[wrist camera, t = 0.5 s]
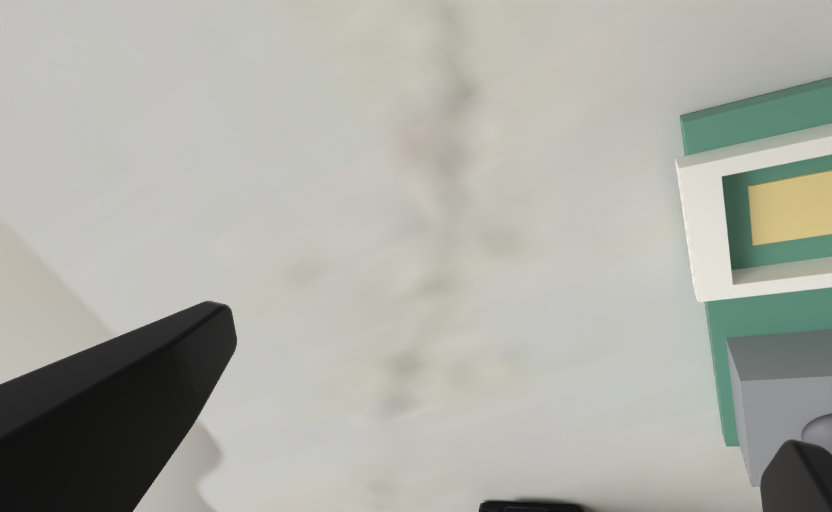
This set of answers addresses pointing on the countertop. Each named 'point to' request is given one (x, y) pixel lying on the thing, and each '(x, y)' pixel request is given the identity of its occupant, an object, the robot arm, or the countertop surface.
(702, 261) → the board
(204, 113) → the countertop surface
